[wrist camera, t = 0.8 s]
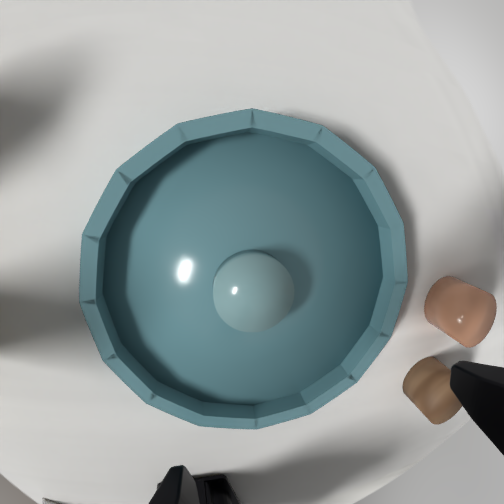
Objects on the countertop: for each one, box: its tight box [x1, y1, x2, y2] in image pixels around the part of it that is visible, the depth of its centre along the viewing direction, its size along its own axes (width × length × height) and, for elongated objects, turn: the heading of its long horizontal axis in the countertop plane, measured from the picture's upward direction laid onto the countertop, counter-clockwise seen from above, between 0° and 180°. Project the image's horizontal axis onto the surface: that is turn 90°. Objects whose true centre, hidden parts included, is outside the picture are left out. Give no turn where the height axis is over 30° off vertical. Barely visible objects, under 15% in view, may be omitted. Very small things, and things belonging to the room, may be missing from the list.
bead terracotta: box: [424, 276, 497, 347], centre depth 21 cm, size 4×4×4 cm
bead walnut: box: [403, 357, 462, 424], centre depth 22 cm, size 4×4×4 cm
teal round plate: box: [79, 108, 408, 429], centre depth 19 cm, size 19×19×2 cm
